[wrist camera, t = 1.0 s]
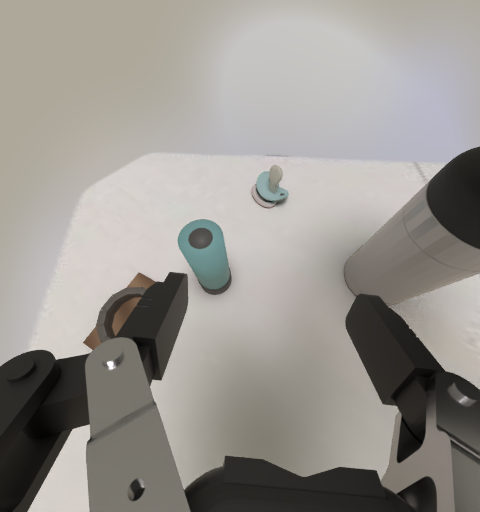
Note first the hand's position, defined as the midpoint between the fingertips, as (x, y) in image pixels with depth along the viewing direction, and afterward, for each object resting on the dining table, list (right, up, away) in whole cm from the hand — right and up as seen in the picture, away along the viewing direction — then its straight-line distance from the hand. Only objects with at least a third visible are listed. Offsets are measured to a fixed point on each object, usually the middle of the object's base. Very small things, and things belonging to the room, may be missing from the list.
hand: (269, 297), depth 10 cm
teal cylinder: (-5, -2, +24) cm, 25 cm away
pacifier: (+4, +14, +32) cm, 35 cm away
